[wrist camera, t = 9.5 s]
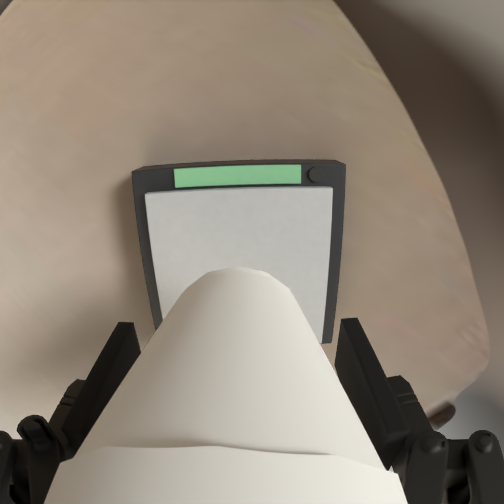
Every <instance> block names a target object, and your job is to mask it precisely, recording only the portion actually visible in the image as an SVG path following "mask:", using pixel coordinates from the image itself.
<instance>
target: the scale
mask: <svg viewBox="0 0 504 504" xmlns="http://www.w3.org/2000/svg"><path fill="white" fill-rule="evenodd" d="M345 175H346V164H344V163H341V162H339V161H336V160H236V161H213V162H195V163H180V164H167V165H155V166H144V167H141V168H139V169H136V170H134V171H132V183H133V193H134V202H135V210H136V218H137V226H138V233H139V241H140V247H141V254H142V260H143V266H144V272H145V278H146V284H147V290H148V295H149V300H150V305H151V311H152V315H153V320H154V325H155V330H157V329H158V327H159V326H160V324H161V323H162V322H163V320H164V319H165V317H166V316H167V314H168V313H169V311H170V310H171V308H172V307H173V306H174V304H175V303H176V301H177V300H178V298H179V297H180V295H181V294H182V293H183V292H184V291H185V289H186V288H187V287H188V286H190V285H191V284H192V283H194V282H195V281H196V280H198V279H199V278H200V277H202V276H203V275H204V274H206V273H207V272H210V271H215V270H220V269H225V268H230V267H235V266H239V267H244V268H249V269H254V270H258V271H263V272H267V273H269V274H270V275H271V276H273V277H274V278H275V279H277V280H278V281H279V282H281V283H282V284H284V285H285V286H286V287H288V288H289V289H290V291H291V293H292V294H293V295H294V297H295V299H296V301H297V303H298V305H299V306H300V308H301V310H302V312H303V314H304V316H305V318H306V319H307V321H308V323H309V325H310V327H311V329H312V331H313V332H314V334H315V336H316V338H317V340H318V342H319V344H324V343H331V342H332V335H333V328H334V320H335V311H336V302H337V293H338V283H339V273H340V261H341V249H342V235H343V219H344V201H345Z"/></svg>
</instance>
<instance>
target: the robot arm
mask: <svg viewBox="0 0 504 504" xmlns="http://www.w3.org/2000/svg"><path fill="white" fill-rule="evenodd" d="M140 354H141V350H140V347H139V343H138V339H137V335H136V331H135V327H134V323H132V322H118V324H117V326H116V327H115V329H114V331H113V332H112V334H111V336H110V338H109V339H108V341H107V343H106V345H105V346H104V348H103V350H102V352H101V353H100V355H99V357H98V359H97V361H96V362H95V364H94V366H93V368H92V370H91V371H90V373H89V375H88V377H87V379H86V380H80V379H76V380H75V381H74V382H73V383H72V384H71V385H70V386H68V388H67V390H66V392H65V393H64V395H63V396H64V397H62V399H61V401H60V402H59V403H60V404H58V406H57V408H56V410H55V411H54V413H53V415H52V417H51V419H50V421H49V423H48V422H47V421H46V420H45V419H44V417H42V416H39V415H31V416H28V417H25V418H24V419H23V420H21V422H20V423H19V424H18V427H17V432H18V433H19V435H20V436H21V437H22V439H12V438H11V436H10V435H9V434H8V433H7V432H5V431H0V504H44V502H45V499H46V497H47V494H48V492H49V489H50V486H51V484H52V482H53V479H54V477H55V474H56V472H57V469H58V467H59V465H60V463H61V462H64V461H67V460H70V459H72V458H74V456H75V455H76V453H77V451H78V450H79V448H80V447H81V445H82V443H83V442H84V440H85V439H86V437H87V435H88V434H89V432H90V431H91V429H92V427H93V426H94V424H95V423H96V421H97V420H98V418H99V416H100V415H101V413H102V412H103V410H104V409H105V407H106V406H107V404H108V402H109V401H110V399H111V398H112V396H113V395H114V393H115V392H116V390H117V389H118V387H119V386H120V384H121V383H122V381H123V380H124V378H125V376H126V375H127V373H128V372H129V370H130V369H131V367H132V366H133V364H134V363H135V361H136V360H137V358H138V357H139V355H140ZM334 365H335V368H336V371H337V375H338V378H339V381H340V383H341V385H342V387H343V389H344V391H345V393H346V394H347V396H348V398H349V400H350V402H351V404H352V406H353V408H354V410H355V412H356V414H357V415H358V417H359V419H360V421H361V423H362V425H363V427H364V429H365V431H366V433H367V435H368V437H369V438H370V440H371V442H372V444H373V446H374V448H375V450H376V452H377V454H378V456H379V458H380V460H381V462H382V464H383V466H384V468H385V470H386V471H389V469H390V467H391V466H392V468H393V471H394V473H397V474H398V476H399V479H400V482H401V485H402V488H403V491H404V494H405V497H406V500H407V503H408V504H504V459H503V455H502V451H501V448H500V445H499V441H498V440H497V437H496V436H495V435H494V434H493V433H491V432H489V431H486V430H479V431H476V432H474V433H473V434H472V435H471V436H470V438H469V439H461V440H460V439H459V440H451V439H446V438H445V436H444V435H442V434H441V433H440V432H437V431H434V430H433V429H432V427H431V425H430V423H429V421H428V419H427V417H426V415H425V413H424V411H423V409H422V407H421V405H420V403H419V402H418V399H417V397H416V395H415V394H414V391H413V389H412V387H411V386H410V384H409V382H407V381H406V380H405V379H404V378H403V377H402V376H400V375H399V376H393V377H386V375H385V373H384V371H383V369H382V367H381V365H380V363H379V361H378V359H377V356H376V354H375V352H374V350H373V348H372V346H371V344H370V342H369V340H368V338H367V336H366V334H365V332H364V330H363V328H362V326H361V324H360V322H359V320H358V318H346V319H341V324H340V331H339V338H338V345H337V351H336V358H335V364H334Z"/></svg>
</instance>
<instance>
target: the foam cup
mask: <svg viewBox="0 0 504 504" xmlns="http://www.w3.org/2000/svg"><path fill="white" fill-rule="evenodd" d="M44 504H408V503H407V500H406V497H405V494H404V491H403V488H402V485H401V482H400V479H399V476H398V474H397V473H394V472H390V471H386V470H385V468H384V466H383V464H382V462H381V460H380V458H379V456H378V454H377V452H376V450H375V448H374V446H373V444H372V442H371V440H370V438H369V437H368V435H367V433H366V431H365V429H364V427H363V425H362V423H361V421H360V419H359V417H358V415H357V414H356V412H355V410H354V408H353V406H352V404H351V402H350V400H349V398H348V396H347V394H346V393H345V391H344V389H343V387H342V385H341V383H340V381H339V379H338V377H337V376H336V374H335V372H334V370H333V368H332V366H331V364H330V362H329V360H328V359H327V357H326V355H325V353H324V351H323V349H322V347H321V345H320V344H319V342H318V340H317V338H316V336H315V334H314V332H313V331H312V329H311V327H310V325H309V323H308V321H307V319H306V318H305V316H304V314H303V312H302V310H301V308H300V306H299V305H298V303H297V301H296V299H295V297H294V295H293V294H292V293H291V291H290V289H289V288H288V287H286V286H285V285H284V284H282V283H281V282H279V281H278V280H277V279H275V278H274V277H273V276H271V275H270V274H269V273H267V272H263V271H258V270H254V269H249V268H244V267H239V266H235V267H230V268H225V269H220V270H215V271H210V272H207V273H206V274H204V275H203V276H202V277H200V278H199V279H198V280H196V281H195V282H194V283H192V284H191V285H190V286H188V287H187V288H186V289H185V291H184V292H183V293H182V294H181V295H180V297H179V298H178V300H177V301H176V303H175V304H174V306H173V307H172V308H171V310H170V311H169V313H168V314H167V316H166V317H165V319H164V320H163V322H162V323H161V324H160V326H159V327H158V329H157V330H156V332H155V333H154V335H153V336H152V338H151V339H150V341H149V342H148V344H147V345H146V347H145V348H144V349H143V351H142V352H141V354H140V355H139V357H138V358H137V360H136V361H135V363H134V364H133V366H132V367H131V369H130V370H129V372H128V373H127V375H126V376H125V378H124V380H123V381H122V383H121V384H120V386H119V387H118V389H117V390H116V392H115V393H114V395H113V396H112V398H111V399H110V401H109V402H108V404H107V406H106V407H105V409H104V410H103V412H102V413H101V415H100V416H99V418H98V420H97V421H96V423H95V424H94V426H93V427H92V429H91V431H90V432H89V434H88V435H87V437H86V439H85V440H84V442H83V443H82V445H81V447H80V448H79V450H78V451H77V453H76V455H75V456H74V458H72V459H70V460H67V461H64V462H61V463H60V465H59V467H58V469H57V472H56V474H55V477H54V479H53V482H52V484H51V486H50V489H49V492H48V494H47V497H46V499H45V502H44Z"/></svg>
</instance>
